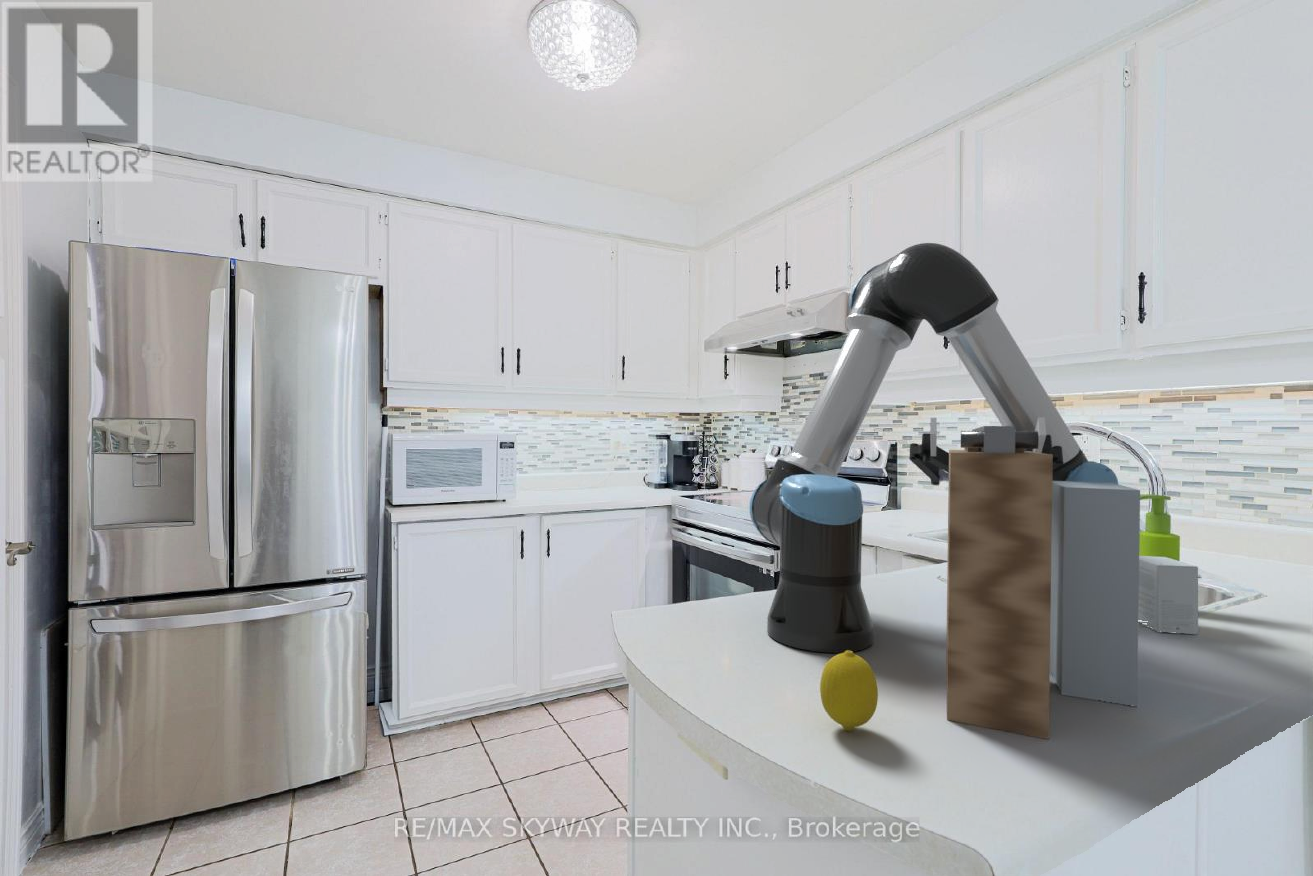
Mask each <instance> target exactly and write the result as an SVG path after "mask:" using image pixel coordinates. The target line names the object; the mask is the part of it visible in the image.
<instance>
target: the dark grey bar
mask: <svg viewBox="0 0 1313 876" xmlns="http://www.w3.org/2000/svg"><path fill="white" fill-rule="evenodd" d="M1038 443H1039V435H1038V431H1015V426H1002V425H983V426H980V427H977V428H973V429H971V430H960V448H962V449H964V448H978V451H979V452H982V453H1007V454H1015V449H1038Z"/></svg>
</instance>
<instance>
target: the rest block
mask: <svg viewBox="0 0 1313 876" xmlns="http://www.w3.org/2000/svg"><path fill="white" fill-rule="evenodd" d="M1140 495H1141V489H1137V488H1135V487H1134V488H1133V487H1129V486H1126V485H1122V484H1119V483H1118V484H1115V483H1100V482H1073V481H1052V543H1051V613H1050V670H1051V671H1050V673H1051V672H1052V673H1051V675H1052V674H1053V675H1052V677H1053V679H1054V678H1055V679H1054V681H1056V682H1055V683H1057V684H1056V685H1058V686H1057V688H1058V687H1059V688H1058V690H1059V693H1060V694H1061V695H1062V696H1069V697H1074V698H1080V699H1087V700H1094V701H1098V700H1101V701H1100V702H1104V701H1106V702H1105V703H1110V702H1112V704H1116V703H1117V705H1123V704H1124V706H1128V705H1133V706H1132V707H1134V706H1137V707H1138V667H1139V666H1138V664H1139V663H1138V662H1139V661H1138V659H1139V658H1138V657H1139V652H1138V651H1139V623H1138V605H1139V538H1140V532H1141V528H1140V526H1141V500H1140ZM1102 700H1103V701H1102ZM1113 702H1114V703H1113ZM1118 703H1119V704H1118Z"/></svg>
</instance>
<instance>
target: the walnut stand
mask: <svg viewBox="0 0 1313 876" xmlns="http://www.w3.org/2000/svg"><path fill="white" fill-rule="evenodd" d="M948 453H949V481H948V490H947V491H948V493H947V494H948V499H947V500H948V502H947V504H948V508H947V512H948V513H947V567H946V569H947V572H946V573H947V574H946V576H947V577H946V578H947V579H946V583H947V584H946V641H945V642H946V648H945V649H946V651H945V652H946V654H945V656H946V657H945V666H946V668H945V672H946V674H945V675H946V677H945V678H946V685H945V686H946V720H947V721H951V722H956V723H961V724H962V723H963V724H968V725H972V726H977V727H981V728H987V729H994V730H997V731H1003V732H1009V733H1014V734H1018V735H1023V736H1024V735H1025V736H1028V737H1029V736H1030V737H1034V738H1040V739H1045V740H1049V739H1050V737H1049V736H1050V681H1051V680H1050V677H1051V676H1050V674H1051V671H1050V613H1051V543H1052V474H1053V455H1052V454H1045V453H1038V452H1031V451H1024V449H1015V454H1007V453H982V452H979V451H978V448H963V449H948Z"/></svg>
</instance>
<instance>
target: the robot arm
mask: <svg viewBox="0 0 1313 876" xmlns="http://www.w3.org/2000/svg"><path fill="white" fill-rule="evenodd" d="M999 301H1000V300H999V298H998V296H997V295H996V293H995V291H994V289H993V288H992V286H991V285H990V284H989V282H988V281H987V280H986V278H985V276H984V275H983V274H982V273H981V272H980V270H979V269H978V268H977V267H976V266H975V265H974V263H972V262H971V261H970V259H968V258H967V257H965V256H964V255H963V254H961V252H959V251H957V250H955V249H954V248H951V247H949V246H948V245H947V246H946V245H944V244H940V243H936V242H923V243H917V244H914V245H911V246H909V247H907V248H905V249H904V250H901V251H900V252H899V253H897V254H895V255H894V256H893V257H890V258H888V259H887V260H884V261H883V262H882V263H881V262H880V264H877V265H875V266H873V267H871V268H869V270H867V271H866V272H865V273H864V274H863V275H861V277H860V278H859V279H858V280H857V281H856V282H855V284H854V286H853V288H852V290H851V293H850V296H849V309H850V310H849V312H848V315H847V317H846V319H845V325H846V327H847V330H848V334H847V336H846V339H845V341H844V343H843V345H842V347H841V349H840V351H839V353H838V355H837V357H836V359H835V361H834V363H833V365H832V367H831V369H830V371H829V373H828V375H827V377H826V379H825V382H824V383H823V385H822V388H821V389H820V392H819V394H818V396H817V398H816V400H815V402H814V404H813V406H812V408H811V410H810V412H809V413H808V417H807V418H806V421H805V423H804V425H803V426H802V428H801V431H800V433H799V435H798V437H797V439H796V441H795V443H794V445H793V447H792V449H791V451H790V453H788V454H786V455H783V456H781V457H778V458H777V460H776V462H775V464H774V466H773V468H772V470H771V472H770V474H769V476H768V478H766V479H764V480H762V481H761V482H760V483H759V484H758V485H757V486H756V487H755V489H754V490H753V492H752V494H751V497H750V501H749V514H750V520H751V522H752V525H753V526H754V528H755V529H756V530H757V532H758V533H759V534H760V535H761V536H762V537H763V538H764V539H765V540H766V541H767V542H769V543H771V544H774V546H778V547H779V548H780V549H779V582H778V585H777V587H776V591H775V593H774V597H773V599H772V602H771V605H770V607H769V611H768V614H767V621H766V622H767V626H766V627H767V630H766V631H767V634H768V635H769V636H770V637H771V638H772V639H773V640H775V641H776V642H778V643H781V644H783V645H785V646H786V645H787V646H789V647H792V648H795V649H800V650H805V651H810V652H816V653H817V652H818V653H819V652H820V653H835V654H837V653H838V654H840V653H844V652H845V651H847V650H849V651H852V652H857V651H861V650H864V649H866V648H869V647H870V646H871V645H872V644H873V643H874V625H873V622H872V618H871V614H870V612H869V609H868V606H867V602H866V599H865V595H864V592H863V589H862V550H863V549H862V547H863V546H862V545H863V542H862V541H863V514H864V505H863V500H862V499H863V497H862V490H861V488H860V487H859V485H858V484H857V483H856V482H853V481H852V480H849V479H846V478H844V477H839V476H838V474H839V471H840V469H841V468H842V465H843V463H844V461H845V458H846V457H847V455H848V453H849V451H850V449H851V446H852V445H853V443H854V440H855V438H856V435H857V434H858V432H859V429H860V428H861V426H862V424H863V421H864V420H865V417H866V415H867V414H868V411H869V409H870V408H871V405H872V403H873V401H874V399H875V397H876V395H877V393H878V391H879V388H880V387H881V385H882V383H883V380H884V379H885V377H886V374H887V372H888V369H889V368H890V366H891V364H892V362H893V360H894V357H895V355H896V353H897V352H898V351H900V350H904V349H907V348H908V347H910V345H911V344H912V342H913V340H914V337H916V334H917V331H918V329H919V327H920V325H921V323H922V322H923V321H924V320H925V321H926V322H927V323H928V324H929V325H930V326H931V328H932V329H933V330H934V332H935V334H936V335H937V336H941V337H945V338H947V340H948V341H949V343H950V345H951V346H952V348H953V350H954V351H955V353H956V354H957V355H958V357H959V359H960V361H961V362H962V364H963V366H964V367H965V368H966V370H967V372H968V373H969V375H970V376H971V378H972V380H973V381H974V383H975V384H976V386H977V388H978V389H979V391H980V392H981V394H982V396H983V397H984V399H985V401H986V402H987V404H988V405H989V407H990V408H991V410H992V412H993V414H995V416H996V418H997V419H998V421H999V423H1000V426H1015V431H1038V435H1039V443H1038V449H1024V451H1031V452H1038V453H1045V454H1052V455H1053V474H1052V481H1073V482H1100V483H1115V484H1119V479H1118V477H1117V475H1116V473H1115V472H1114V470H1113V469H1111V468H1110V467H1109V466H1107V465H1105V464H1103V463H1100V462H1097V461H1094V460H1093V461H1091V460H1088V458H1087V456H1086V454H1084V452H1083V450H1082V449H1081V446H1080V445H1079V443H1078V442H1077V440H1076V439H1075V438H1074V435H1073V434H1072V432H1071V431H1070V428H1069V427H1068V426H1067V424H1066V423H1065V421H1064V419H1063V417H1062V416H1061V414H1060V413H1059V411H1058V409H1057V407H1056V406H1055V404H1054V403H1053V401H1052V399H1051V398H1050V396H1049V394H1048V393H1047V391H1046V389H1045V388H1044V387H1043V385H1042V382H1041V381H1040V379H1039V378H1038V376H1037V375H1036V373H1035V371H1034V370H1033V369H1032V366H1031V365H1030V363H1029V362H1028V360H1027V358H1026V357H1025V355H1024V354H1023V352H1022V350H1021V349H1020V347H1019V345H1018V344H1017V342H1016V340H1015V339H1014V337H1013V336H1012V334H1011V332H1010V331H1009V328H1008V327H1007V326H1006V324H1005V322H1004V321H1003V319H1002V317H1001V315H999V312H998V311H997V306H998V304H999ZM937 420H938V419H937V417H930V427H929V428H930V431H929V433H922V435H921V444H918V443H915V442H913V443H910V445H909V461H911V462H912V463H913V465H915V466H916V467H917V468H918V469H919V470H921V471H922V472H923V474H925V475H926V477H928V478H929V479H930V484H931V485H933V486H938V485H940V483H941V482H945V481H947V482H949V451H948V452H947V451H946V450H944V449H943V448H941V447H939V446H937V438H938V437H937V431H938V429H937V427H938V426H937V422H938V421H937Z"/></svg>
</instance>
